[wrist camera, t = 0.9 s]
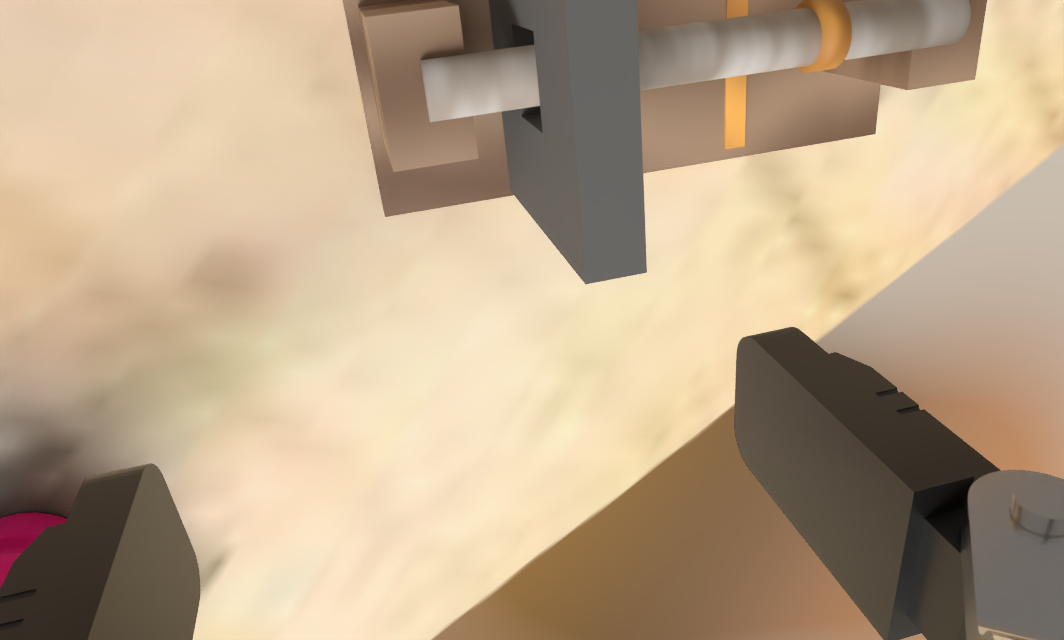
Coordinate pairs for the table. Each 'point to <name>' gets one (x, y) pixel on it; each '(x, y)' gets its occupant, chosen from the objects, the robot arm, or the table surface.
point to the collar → (579, 130)
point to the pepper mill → (21, 535)
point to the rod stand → (645, 81)
